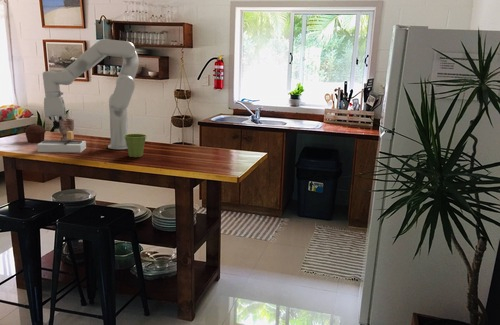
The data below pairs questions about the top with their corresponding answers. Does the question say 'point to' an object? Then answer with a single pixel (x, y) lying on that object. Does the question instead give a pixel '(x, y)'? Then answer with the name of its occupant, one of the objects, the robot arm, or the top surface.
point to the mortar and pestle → (66, 127)
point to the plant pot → (135, 144)
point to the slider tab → (70, 136)
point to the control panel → (61, 146)
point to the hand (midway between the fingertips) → (57, 128)
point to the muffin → (35, 133)
